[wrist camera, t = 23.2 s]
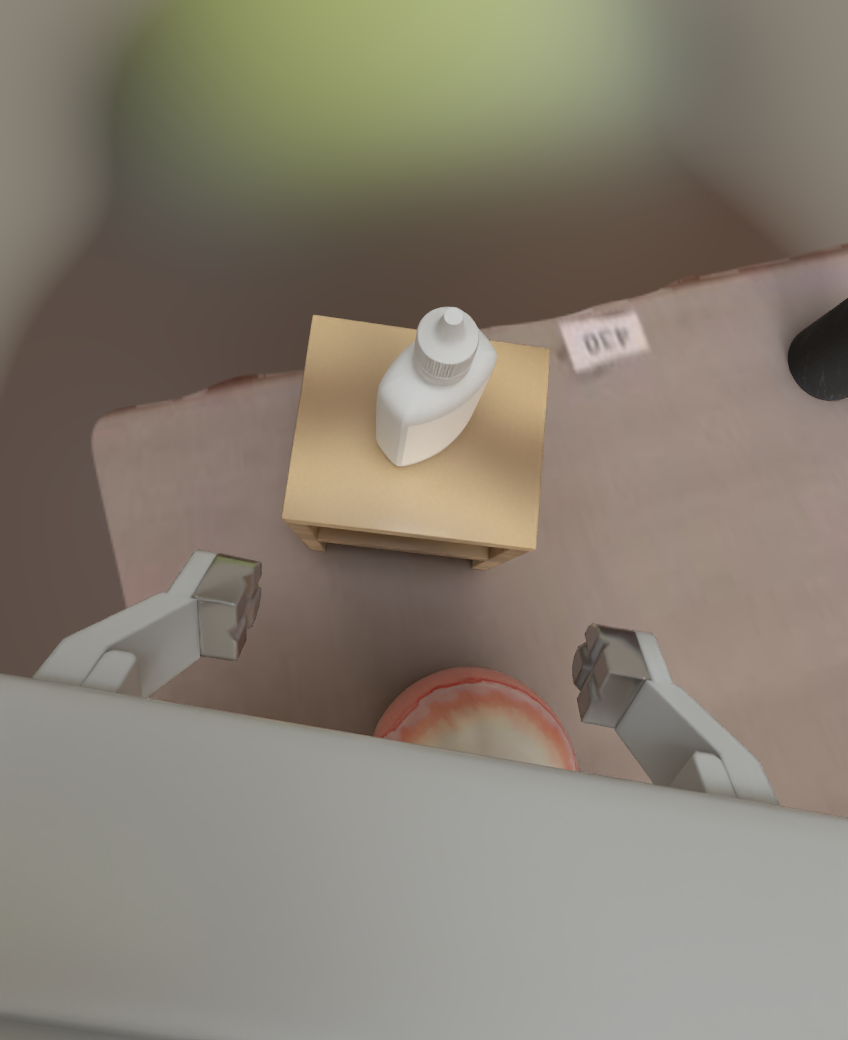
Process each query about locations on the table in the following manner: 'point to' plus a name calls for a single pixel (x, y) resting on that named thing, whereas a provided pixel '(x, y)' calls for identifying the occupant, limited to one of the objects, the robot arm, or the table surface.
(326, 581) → the table surface
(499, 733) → the vase
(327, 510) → the plywood crate
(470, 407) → the eye dropper bottle
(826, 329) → the travel mug
